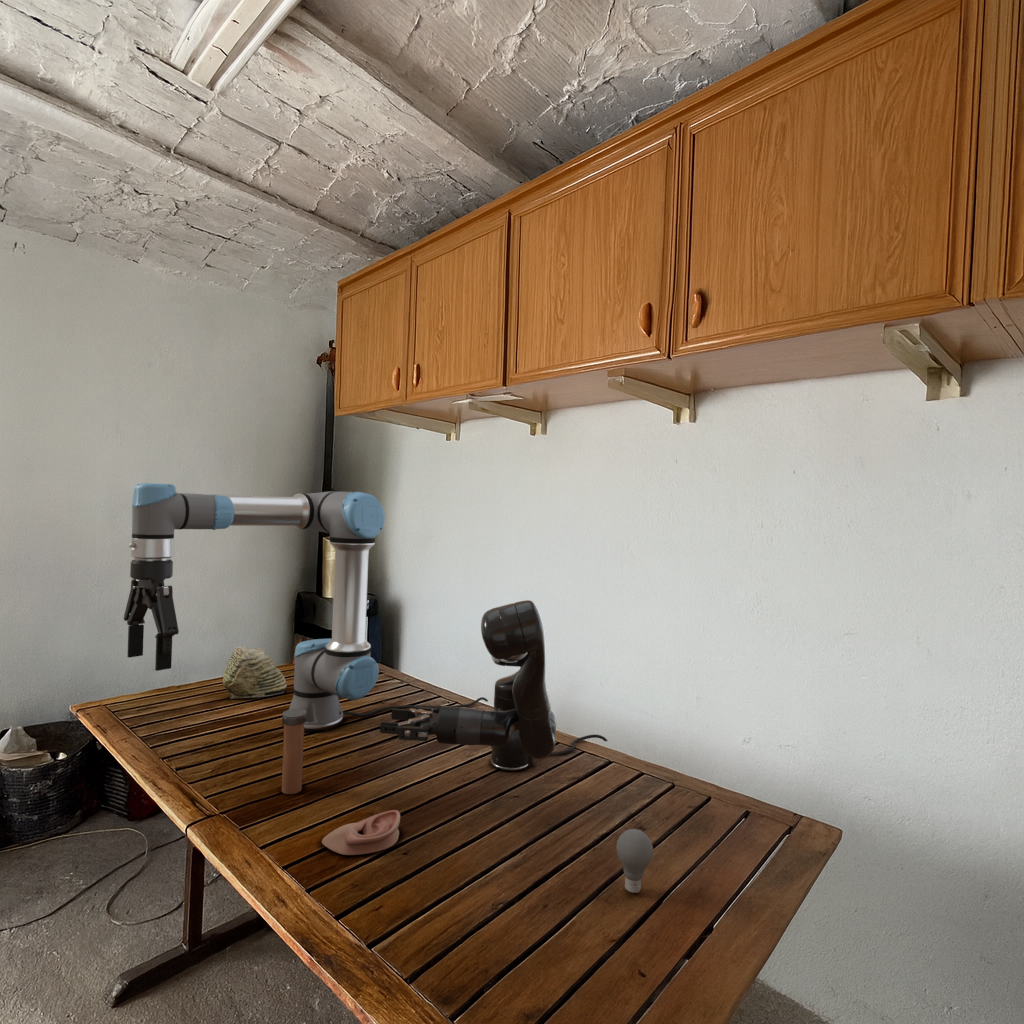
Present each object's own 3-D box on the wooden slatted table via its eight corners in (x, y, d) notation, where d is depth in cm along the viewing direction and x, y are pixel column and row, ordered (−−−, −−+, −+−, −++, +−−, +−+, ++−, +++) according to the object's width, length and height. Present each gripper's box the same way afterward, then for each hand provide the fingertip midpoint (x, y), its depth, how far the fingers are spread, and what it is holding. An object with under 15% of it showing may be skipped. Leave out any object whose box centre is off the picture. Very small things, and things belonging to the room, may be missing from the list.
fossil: (218, 695, 195) (220, 647, 195) (278, 685, 208) (279, 640, 207) (228, 703, 189) (230, 653, 188) (289, 692, 201) (290, 645, 201)
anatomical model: (313, 828, 113) (343, 799, 125) (313, 850, 113) (342, 819, 125) (383, 839, 111) (407, 808, 122) (382, 862, 111) (406, 829, 122)
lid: (277, 723, 134) (277, 714, 134) (291, 716, 139) (291, 707, 139) (297, 726, 133) (298, 717, 133) (310, 719, 138) (311, 710, 138)
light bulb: (610, 879, 108) (613, 822, 108) (644, 879, 109) (647, 822, 109) (619, 902, 102) (622, 840, 102) (655, 901, 103) (658, 840, 103)
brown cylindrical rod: (277, 792, 135) (280, 716, 135) (289, 784, 139) (291, 710, 139) (294, 795, 134) (297, 719, 133) (305, 787, 138) (308, 713, 137)
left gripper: (108, 554, 134) (104, 654, 134) (159, 565, 118) (155, 678, 119) (146, 552, 140) (143, 648, 140) (199, 563, 124) (195, 671, 124)
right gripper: (467, 698, 141) (395, 693, 142) (456, 719, 127) (377, 713, 128) (465, 731, 141) (394, 726, 142) (454, 756, 127) (375, 750, 128)
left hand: (148, 662), depth 129 cm, fingers open, 13 cm apart
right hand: (386, 720), depth 135 cm, fingers open, 8 cm apart
